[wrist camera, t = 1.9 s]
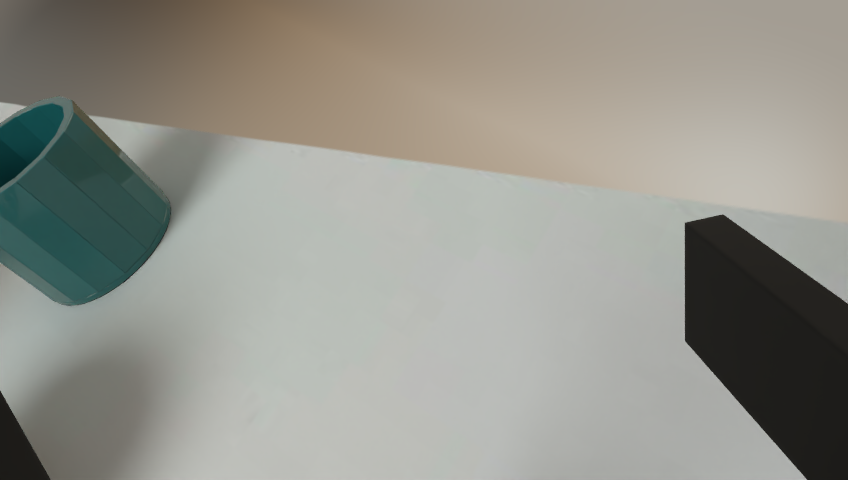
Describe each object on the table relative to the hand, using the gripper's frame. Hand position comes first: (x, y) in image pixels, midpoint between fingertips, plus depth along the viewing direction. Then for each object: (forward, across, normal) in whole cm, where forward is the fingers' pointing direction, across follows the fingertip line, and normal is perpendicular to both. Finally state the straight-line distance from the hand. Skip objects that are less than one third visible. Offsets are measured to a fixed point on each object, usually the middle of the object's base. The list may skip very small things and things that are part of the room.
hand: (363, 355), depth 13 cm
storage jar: (+41, -21, -12) cm, 48 cm away
